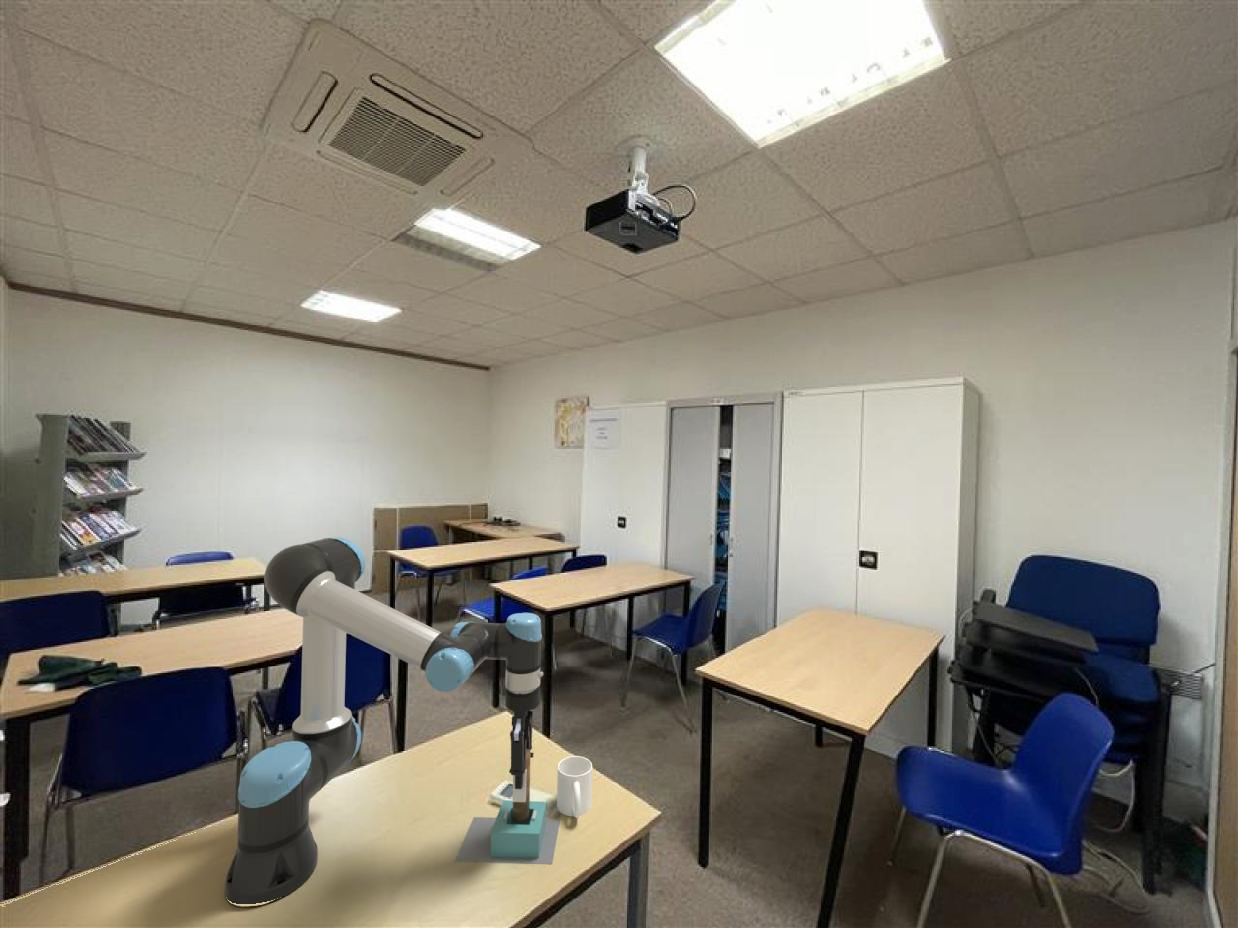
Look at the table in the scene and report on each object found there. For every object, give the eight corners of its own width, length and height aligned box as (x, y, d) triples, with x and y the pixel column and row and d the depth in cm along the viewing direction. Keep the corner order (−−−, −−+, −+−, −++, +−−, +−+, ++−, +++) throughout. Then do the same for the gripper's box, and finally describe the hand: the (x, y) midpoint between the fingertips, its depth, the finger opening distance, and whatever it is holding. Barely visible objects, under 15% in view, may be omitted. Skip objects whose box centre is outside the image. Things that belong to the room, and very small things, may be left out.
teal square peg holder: (490, 856, 104) (491, 829, 104) (502, 822, 114) (502, 798, 114) (538, 857, 104) (539, 831, 104) (546, 823, 114) (546, 799, 114)
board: (454, 865, 103) (454, 861, 103) (473, 821, 116) (473, 816, 116) (552, 868, 102) (552, 863, 102) (560, 823, 115) (560, 819, 115)
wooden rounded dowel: (510, 822, 107) (511, 757, 107) (514, 810, 111) (515, 747, 111) (527, 822, 107) (528, 757, 107) (530, 811, 111) (531, 748, 111)
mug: (594, 830, 114) (595, 784, 114) (558, 833, 112) (559, 787, 112) (589, 795, 126) (590, 754, 126) (556, 798, 124) (556, 757, 124)
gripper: (533, 704, 101) (531, 821, 101) (546, 672, 117) (544, 772, 117) (496, 704, 101) (494, 820, 101) (514, 671, 117) (512, 771, 117)
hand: (521, 794), depth 109 cm, fingers closed on wooden rounded dowel, 3 cm apart
